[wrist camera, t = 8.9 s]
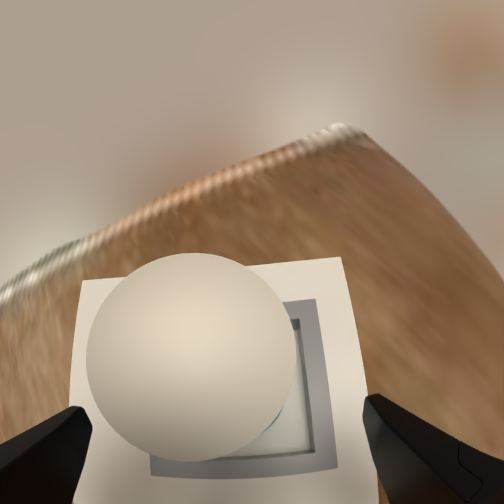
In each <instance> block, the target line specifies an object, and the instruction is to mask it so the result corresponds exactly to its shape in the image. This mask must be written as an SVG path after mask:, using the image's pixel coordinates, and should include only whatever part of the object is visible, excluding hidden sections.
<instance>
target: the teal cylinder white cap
mask: <svg viewBox="0 0 504 504" xmlns="http://www.w3.org/2000/svg"><path fill="white" fill-rule="evenodd" d="M295 366H296V342H295V337H294V331H293V327H292V324H291V321H290V318H289V315H288V313H287V311H286V309H285V307H284V305H283V303H282V302H281V300H280V299H279V297H278V296H277V294H276V293H275V292H274V290H273V289H272V288H271V287H270V286H269V285H268V284H267V283H266V282H265V281H264V280H263V279H262V278H261V277H260V276H258V275H257V274H256V273H255V272H253V271H252V270H250V269H248V268H247V267H245V266H243V265H241V264H239V263H237V262H235V261H233V260H230V259H227V258H224V257H221V256H216V255H211V254H202V253H184V254H177V255H171V256H167V257H164V258H160V259H158V260H155V261H152V262H150V263H148V264H146V265H144V266H142V267H140V268H138V269H137V270H135V271H134V272H132V273H131V274H129V275H128V276H127V277H126V278H124V279H123V280H122V281H121V282H120V283H119V284H118V285H117V286H116V287H115V288H114V289H113V290H112V291H111V292H110V294H109V295H108V296H107V298H106V299H105V300H104V302H103V303H102V305H101V307H100V308H99V310H98V312H97V314H96V316H95V319H94V321H93V323H92V326H91V329H90V333H89V336H88V342H87V348H86V370H87V377H88V382H89V387H90V390H91V393H92V395H93V398H94V401H95V403H96V405H97V407H98V409H99V410H100V412H101V414H102V415H103V417H104V418H105V419H106V421H107V422H108V424H109V425H110V426H111V427H112V428H113V429H114V430H115V431H116V432H117V433H118V434H119V435H120V436H121V437H122V438H124V439H125V440H126V441H127V442H129V443H130V444H132V445H133V446H135V447H137V448H138V449H140V450H142V451H144V452H146V453H149V454H151V455H153V456H157V457H160V458H164V459H167V460H174V461H182V462H195V461H204V460H211V459H215V458H218V457H222V456H225V455H228V454H230V453H232V452H234V451H236V450H238V449H240V448H242V447H244V446H245V445H247V444H248V443H250V442H251V441H253V440H254V439H256V438H257V437H258V436H259V435H261V434H262V433H263V432H264V431H265V430H267V429H268V428H269V427H270V426H271V425H272V424H273V423H274V422H275V421H276V419H277V418H278V416H279V414H280V412H281V410H282V408H283V406H284V404H285V401H286V399H287V396H288V394H289V392H290V389H291V386H292V382H293V378H294V374H295Z"/></svg>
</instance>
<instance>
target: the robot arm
mask: <svg viewBox="0 0 504 504" xmlns="http://www.w3.org/2000/svg"><path fill="white" fill-rule="evenodd" d="M362 420H363V424H364V428H365V432H366V436H367V440H368V443H369V447H370V451H371V455H372V459H373V462H374V465H375V467H376V470H377V472H378V475H379V477H380V480H381V483H382V485H383V488H384V490H385V493H386V495H387V498H388V500H389V503H390V504H504V461H503V460H501V459H498V458H495V457H493V456H490V455H488V454H486V453H483V452H481V451H479V450H477V449H475V448H473V447H471V446H469V445H467V444H465V443H463V442H462V441H459V440H458V439H456V438H454V437H452V436H450V435H449V434H447V433H445V432H443V431H442V430H440V429H438V428H436V427H434V426H433V425H431V424H429V423H428V422H426V421H424V420H422V419H421V418H419V417H417V416H415V415H414V414H412V413H410V412H409V411H407V410H405V409H404V408H402V407H400V406H399V405H397V404H395V403H394V402H392V401H390V400H389V399H387V398H385V397H384V396H382V395H380V394H372V395H368V396H366V397H365V400H364V407H363V414H362ZM92 430H93V427H92V423H91V421H90V419H89V417H88V415H87V413H86V411H85V409H84V408H83V407H81V406H70V407H69V408H67V409H65V410H63V411H61V412H60V413H58V414H56V415H54V416H52V417H51V418H49V419H47V420H45V421H43V422H42V423H40V424H38V425H36V426H34V427H32V428H31V429H29V430H27V431H25V432H23V433H21V434H19V435H17V436H16V437H14V438H12V439H10V440H8V441H6V442H4V443H2V444H0V504H72V501H73V498H74V495H75V492H76V489H77V485H78V482H79V479H80V476H81V474H82V471H83V467H84V464H85V460H86V456H87V452H88V447H89V443H90V439H91V435H92Z"/></svg>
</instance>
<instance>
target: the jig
mask: <svg viewBox="0 0 504 504" xmlns="http://www.w3.org/2000/svg"><path fill="white" fill-rule="evenodd" d="M245 267H247V268H248V269H250V270H252V271H253V272H255V273H256V274H257V275H258V276H260V277H261V278H262V279H263V280H264V281H265V282H266V283H267V284H268V285H269V286H270V287H271V288H272V289H273V290H274V292H275V293H276V294H277V296H278V297H279V299H280V300H281V302H282V303H283V305H284V307H285V309H286V311H287V313H288V315H289V318H290V321H291V324H292V327H293V331H294V337H295V342H296V366H295V374H294V378H293V382H292V386H291V389H290V392H289V394H288V396H287V399H286V401H285V404H284V406H283V408H282V410H281V412H280V414H279V416H278V418H277V419H276V421H275V422H274V423H273V424H272V425H271V426H270V427H269V428H268V429H267V430H265V431H264V432H263V433H262V434H261V435H259V436H258V437H257V438H256V439H254V440H253V441H251V442H250V443H248V444H247V445H245V446H244V447H242V448H240V449H238V450H236V451H234V452H232V453H230V454H228V455H225V456H222V457H218V458H215V459H211V460H204V461H195V462H182V461H174V460H167V459H164V458H160V457H157V456H153V455H151V454H149V453H146V452H144V451H142V450H140V449H138V448H137V447H135V446H133V445H132V444H130V443H129V442H127V441H126V440H125V439H124V438H122V437H121V436H120V435H119V434H118V433H117V432H116V431H115V430H114V429H113V428H112V427H111V426H110V425H109V424H108V422H107V421H106V419H105V418H104V417H103V415H102V414H101V412H100V410H99V409H98V407H97V405H96V403H95V401H94V398H93V395H92V393H91V390H90V387H89V382H88V377H87V370H86V348H87V342H88V336H89V333H90V329H91V326H92V323H93V321H94V319H95V316H96V314H97V312H98V310H99V308H100V307H101V305H102V303H103V302H104V300H105V299H106V298H107V296H108V295H109V294H110V292H111V291H112V290H113V289H114V288H115V287H116V286H117V285H118V284H119V283H120V282H121V281H122V280H123V279H124V278H126V277H120V278H108V279H96V280H83V282H82V288H81V293H80V299H79V306H78V312H77V319H76V327H75V334H74V343H73V353H72V364H71V378H70V397H69V407H70V406H81V407H83V408H84V409H85V411H86V413H87V415H88V417H89V419H90V421H91V423H92V427H93V430H92V435H91V439H90V443H89V447H88V452H87V456H86V460H85V464H84V467H83V471H82V474H81V476H80V479H79V482H78V485H77V489H76V492H75V495H74V498H73V502H74V504H379V497H378V482H377V470H376V467H375V465H374V462H373V459H372V455H371V451H370V447H369V443H368V440H367V436H366V432H365V428H364V424H363V420H362V414H363V407H364V400H365V397H366V396H368V393H367V387H366V380H365V374H364V368H363V362H362V356H361V351H360V345H359V340H358V335H357V329H356V324H355V319H354V314H353V310H352V305H351V300H350V296H349V291H348V287H347V282H346V278H345V274H344V269H343V265H342V261H341V257H333V258H324V259H314V260H304V261H295V262H285V263H275V264H265V265H254V266H245Z"/></svg>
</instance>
